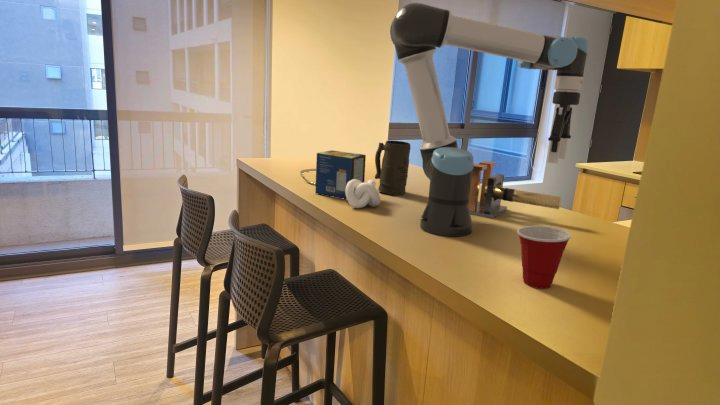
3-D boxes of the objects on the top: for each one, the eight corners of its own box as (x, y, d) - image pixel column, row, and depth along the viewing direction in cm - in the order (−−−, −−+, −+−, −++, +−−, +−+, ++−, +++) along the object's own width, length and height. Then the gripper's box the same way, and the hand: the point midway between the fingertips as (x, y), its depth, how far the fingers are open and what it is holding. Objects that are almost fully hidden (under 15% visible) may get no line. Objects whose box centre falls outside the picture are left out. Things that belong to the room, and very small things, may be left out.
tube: (557, 210, 146) (559, 197, 144) (483, 198, 158) (484, 185, 157) (559, 208, 149) (562, 195, 148) (486, 196, 161) (488, 184, 160)
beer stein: (411, 192, 182) (415, 142, 178) (399, 197, 174) (403, 144, 169) (378, 186, 190) (381, 138, 186) (364, 190, 181) (367, 139, 177)
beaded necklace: (310, 188, 182) (310, 184, 182) (296, 172, 215) (296, 168, 214) (355, 188, 188) (356, 184, 187) (336, 172, 220) (336, 168, 220)
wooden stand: (493, 218, 151) (500, 169, 147) (442, 208, 160) (447, 162, 156) (506, 209, 164) (512, 164, 160) (458, 200, 173) (463, 158, 169)
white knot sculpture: (352, 211, 150) (353, 184, 148) (338, 202, 161) (339, 177, 158) (383, 209, 155) (385, 183, 152) (368, 201, 165) (369, 176, 163)
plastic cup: (509, 270, 107) (516, 220, 104) (559, 278, 104) (568, 227, 101) (510, 288, 97) (518, 234, 94) (565, 297, 94) (575, 241, 91)
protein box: (330, 189, 181) (331, 150, 177) (364, 195, 173) (366, 154, 170) (314, 193, 172) (315, 152, 168) (349, 200, 165) (351, 157, 161)
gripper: (574, 91, 128) (562, 166, 133) (585, 92, 148) (575, 158, 154) (546, 89, 132) (535, 163, 137) (561, 91, 152) (551, 155, 157)
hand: (556, 160), depth 145 cm, fingers open, 13 cm apart
